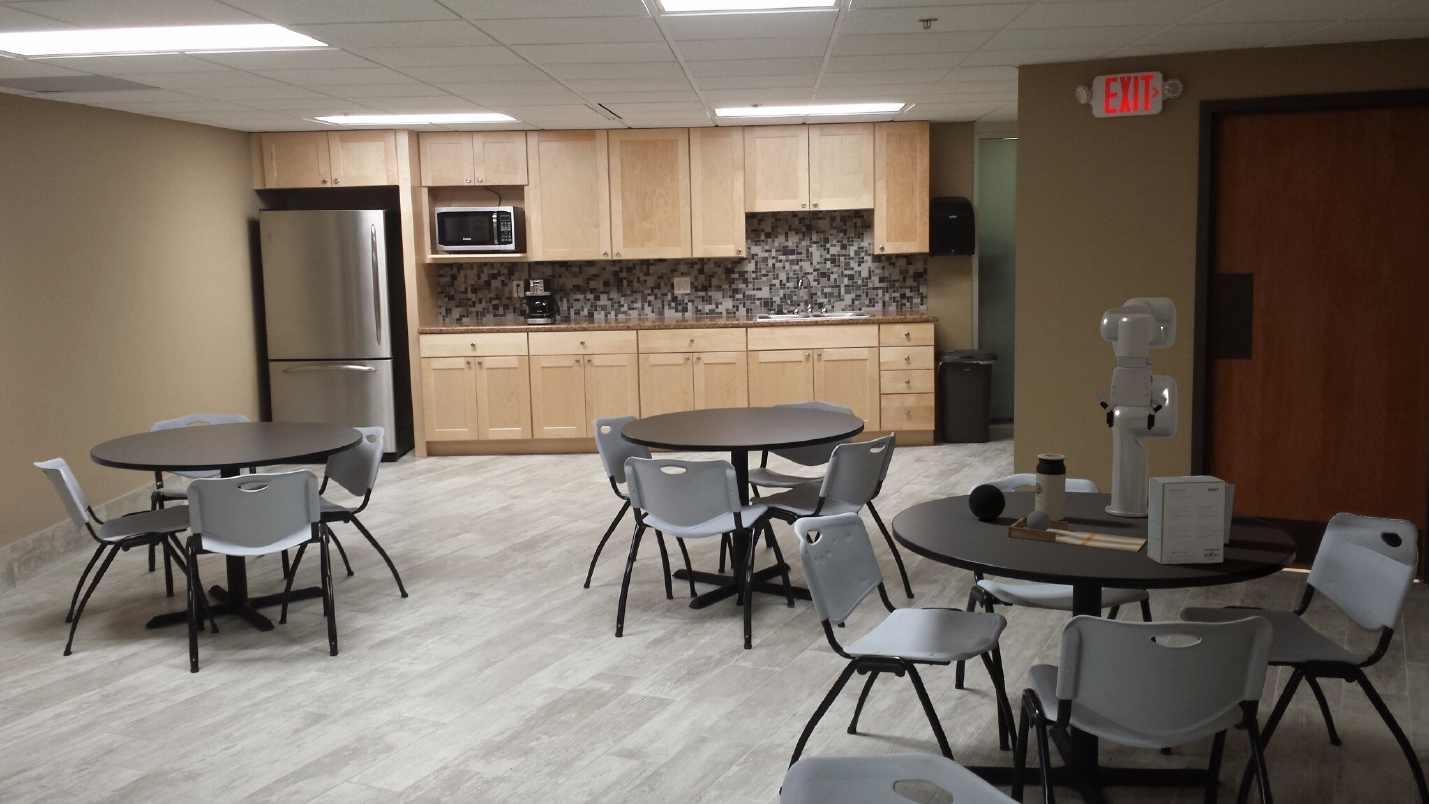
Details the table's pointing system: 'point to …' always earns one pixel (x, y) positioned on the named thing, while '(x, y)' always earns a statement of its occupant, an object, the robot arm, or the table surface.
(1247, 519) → the table surface
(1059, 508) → the travel mug
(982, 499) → the decorative ball
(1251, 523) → the table surface
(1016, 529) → the mat
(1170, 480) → the hard drive box
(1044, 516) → the rubber ball
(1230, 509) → the skincare box
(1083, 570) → the table surface
